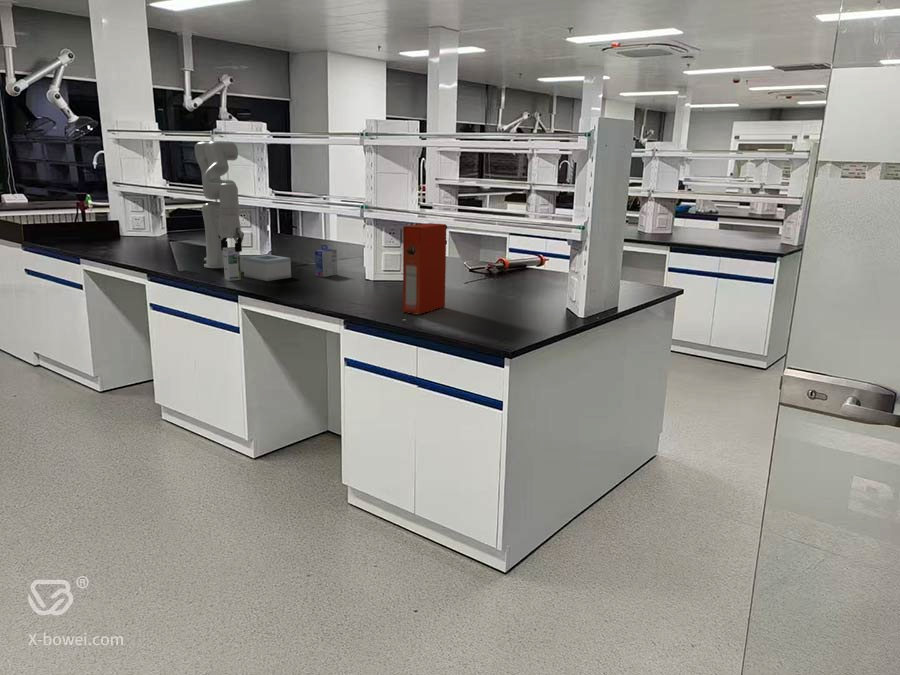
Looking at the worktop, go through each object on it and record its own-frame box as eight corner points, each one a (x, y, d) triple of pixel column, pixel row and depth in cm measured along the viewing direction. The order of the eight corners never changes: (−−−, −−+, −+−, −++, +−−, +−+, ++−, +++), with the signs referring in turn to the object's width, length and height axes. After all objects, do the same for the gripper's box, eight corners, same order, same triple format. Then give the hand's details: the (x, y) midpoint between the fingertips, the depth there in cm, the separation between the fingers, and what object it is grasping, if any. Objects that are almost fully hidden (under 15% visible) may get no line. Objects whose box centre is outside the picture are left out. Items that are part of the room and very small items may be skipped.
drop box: (244, 276, 316) (243, 257, 314) (268, 273, 327) (267, 254, 325) (267, 281, 307) (266, 261, 305) (291, 277, 318) (290, 258, 316)
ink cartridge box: (329, 273, 331) (329, 243, 327) (338, 274, 328) (337, 244, 324) (314, 276, 323) (314, 245, 320) (323, 277, 320) (322, 246, 317)
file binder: (402, 312, 254) (403, 226, 246) (427, 304, 269) (429, 222, 260) (420, 315, 250) (422, 227, 242) (444, 307, 265) (447, 224, 256)
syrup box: (228, 281, 305) (226, 248, 301) (224, 279, 309) (222, 247, 305) (241, 280, 308) (239, 247, 304) (236, 278, 312) (235, 246, 309)
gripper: (209, 211, 302) (212, 250, 306) (234, 213, 293) (237, 253, 297) (224, 210, 308) (226, 248, 312) (248, 212, 299) (251, 251, 303)
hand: (231, 250), depth 305 cm, fingers open, 9 cm apart
